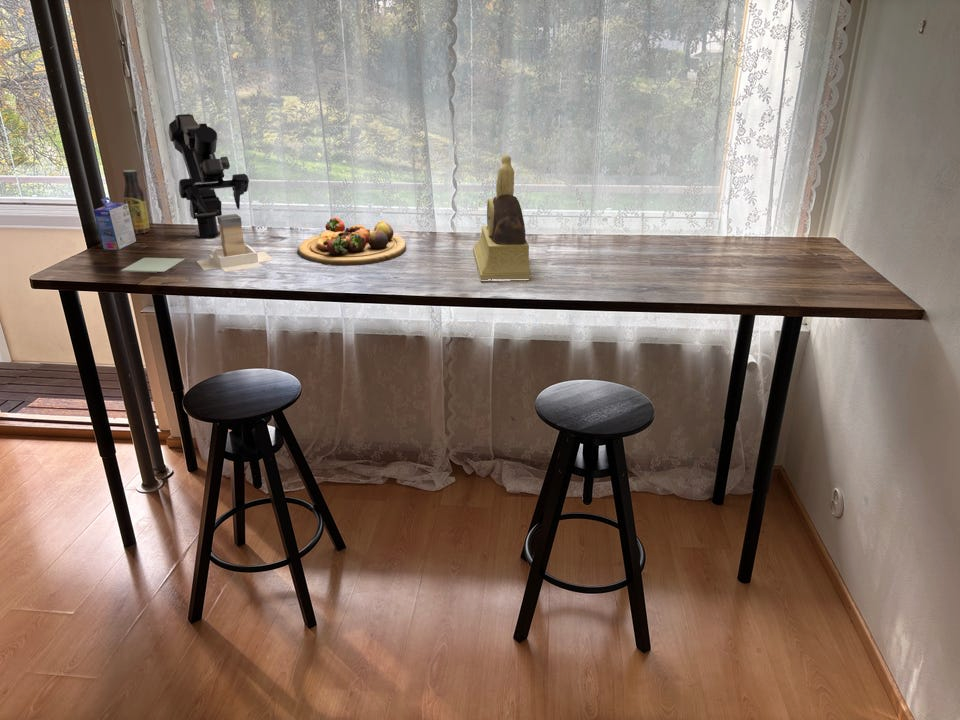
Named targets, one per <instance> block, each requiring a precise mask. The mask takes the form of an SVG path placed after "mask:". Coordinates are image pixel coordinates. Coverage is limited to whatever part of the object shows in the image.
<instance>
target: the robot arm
mask: <svg viewBox="0 0 960 720" xmlns="http://www.w3.org/2000/svg"><path fill="white" fill-rule="evenodd" d="M174 118H175V119H174V120H173V121H171V122H170V123H169V124H168V138H169V140H170V142H172V144H173V146H174V149H175V150H177V151H178V152H179V153H180V154H181V155H182V158H183V161H184V165H185V167H186V171H187V174H188V177H189V178H181V179H179V183H178V192H179V196H180V198H182V199H186V201H187V200H188V201H189V213H190V214H189V215H190V217H191V218H192V219H193V220H197V227H198V234H195V236H194V237H195V238H200V239H201V238H206V239H215V238H217V237H218V235H219V236H220V230H218V229H219V227H218V220H217V216H221V215H223V212H222V201H221V200H220V198H219V196H217V194H216V192H215V190H218V189H230V188H231V189H232V191H233V193H232V195H233V199H234V203H235V206H236V208H237V210H240V208H241V207H240V206H241V205H240V203H241V196H242V195H244V194H245V193H246V192H248V189H249V183H250V180H249V176H248V175H247V174H246V173H236V174H232V178H231V179H227V180H225V174H224V172H225V170H229V168H230V166H231V165H230V162H229V161H230V160H229V158H228V156H221V157H220V158H217V157H216V154H215V153H216V152H217V151H216V150H217V143H218V133H217V131H216V130H215V129H214V128H213V127H210V126H208V124H207V123H205V122H203V123H198V122H197V121H196V119H195V117H194V115H193V114H190V113H184V114H182V113H181V114H177V115H175V117H174ZM223 178H224V179H223Z"/></svg>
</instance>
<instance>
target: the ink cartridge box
mask: <svg viewBox="0 0 960 720" xmlns="http://www.w3.org/2000/svg"><path fill="white" fill-rule="evenodd" d="M100 201H101V202H102V204H103V206H101V207H98V208H95V209H94V210H93V213H94V216H95V220H96V224H97V228H98V232H99V236H100V240H101V243H102V248H103V250H110V251H111V250H112V251H113V250H114V251H118V250H121V249H123V248H126V247H127V246H130V245H131V244H134V243H136V242H137V239H136V234H134V230H133V225H132V221H131V217H130V212H129V208H128V203H124V202H113V201H112V199H110V198H109V197H108V196H106V197H103V198H101V199H100ZM106 201H107V202H106Z"/></svg>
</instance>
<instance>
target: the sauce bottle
mask: <svg viewBox="0 0 960 720" xmlns="http://www.w3.org/2000/svg"><path fill="white" fill-rule="evenodd" d="M122 175H123V177H124V182H125V183H124V184H125V186H124V193H123V203H128V208H129V212H130V217H131V221H132V225H133V230H134V234H135V235H143V234H142V233H144V234H146V232H147V233H149V232H150V222H149V215H148V209H147V204H146V198H145V193H144V190H143V189H142V187H141V186H140V184H139V181H138V170H137V169H124V170H123V171H122ZM148 231H149V232H148Z"/></svg>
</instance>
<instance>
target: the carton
mask: <svg viewBox="0 0 960 720" xmlns="http://www.w3.org/2000/svg"><path fill="white" fill-rule="evenodd" d="M244 247H245V254H241V255H234V256H227V257H224V255H223V249H222V247H221V248H220V247H219V248H213V249H211V250H210V251H211V254H209V257H210V258H207V259H202V260H196V263H197V264H198V265H199V266H200V268H202V270H203V271H209V270H215V269H216V270H217V269H221V270H222V271H223V272H224V273H227V272H228V273H229V272H235V271H242V270H248V269H254V268H261V267H263V265H262V264H261V263H262V262H270V261H275V259H273V258H272V257H271V256H270V255H269V254H268V253H267V252H266V251H263V250H262V251H259V252H258V251H255V249H253V248H252V247H251V246H250V245H248V244H244Z"/></svg>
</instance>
